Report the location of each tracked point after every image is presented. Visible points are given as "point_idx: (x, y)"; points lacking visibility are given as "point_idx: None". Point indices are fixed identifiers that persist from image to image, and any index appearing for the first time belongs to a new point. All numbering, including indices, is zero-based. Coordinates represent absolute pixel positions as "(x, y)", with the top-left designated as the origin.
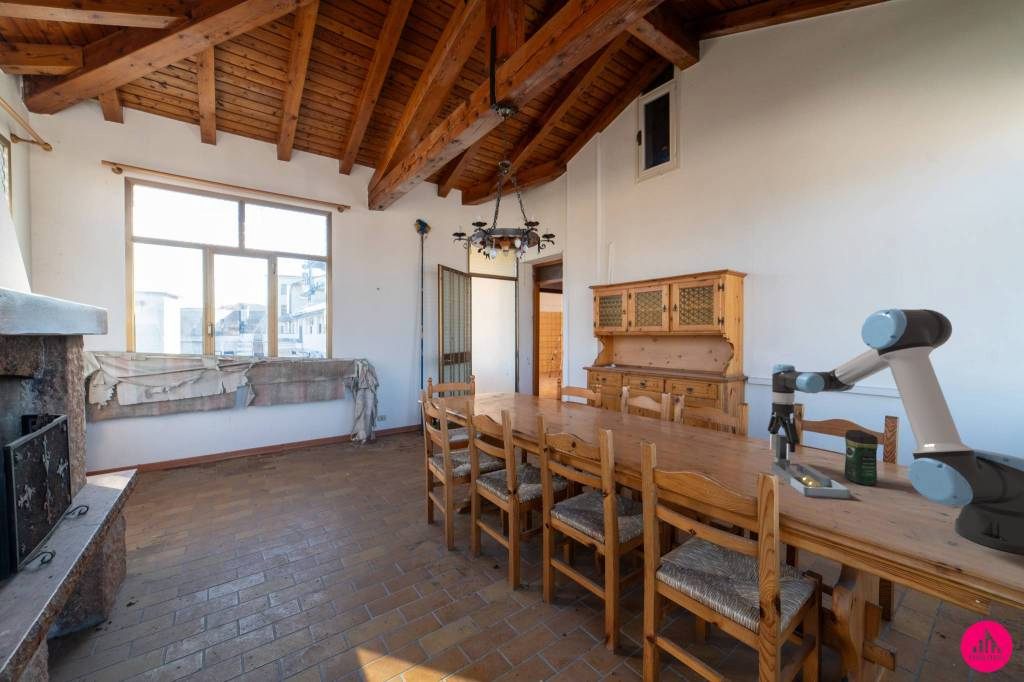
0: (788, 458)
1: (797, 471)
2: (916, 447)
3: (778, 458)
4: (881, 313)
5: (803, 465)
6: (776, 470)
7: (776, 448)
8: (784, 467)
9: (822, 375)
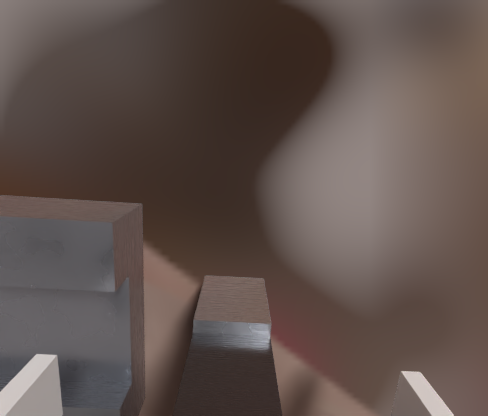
0: (25, 373)
1: (15, 335)
2: None
3: (199, 324)
4: None
5: None
6: (48, 205)
7: (269, 408)
8: None
9: None
